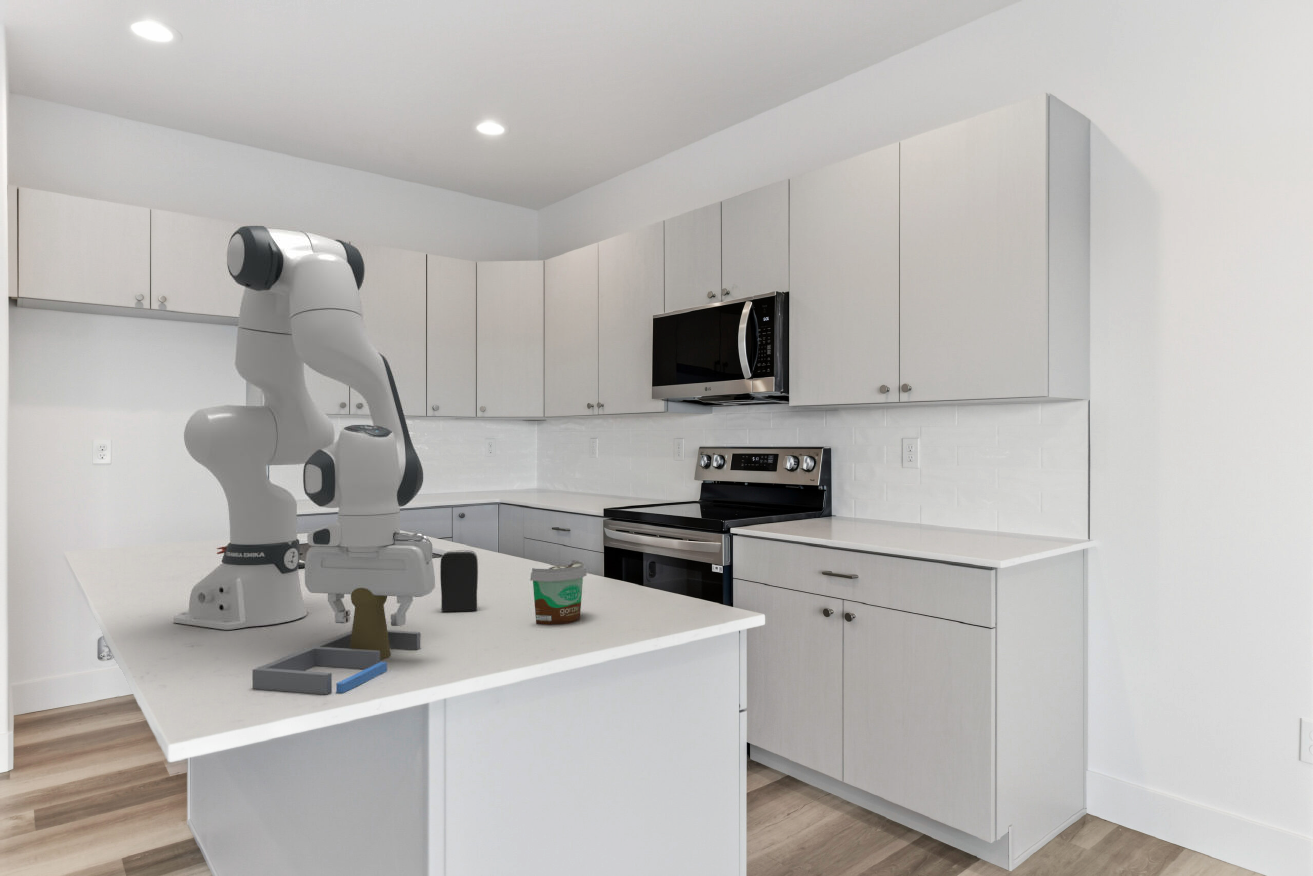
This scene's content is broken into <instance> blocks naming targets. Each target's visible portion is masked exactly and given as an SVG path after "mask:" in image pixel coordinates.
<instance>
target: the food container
mask: <svg viewBox="0 0 1313 876" xmlns="http://www.w3.org/2000/svg"><path fill="white" fill-rule="evenodd" d="M587 575H588V573H587V569H586V566H585V563H584V561H581V560H577V559H571V563H570V564H568V565H564V566H559V565H557V566H551V567H549V568H531V573H530V579H529V580H530V581H532V589H533V600H534V612H535V624H536V625H540V626H560V625H568V624H574V623H575V622H578V621H580V619H581V612H582V611H581V609H582V598H583V597H582V595H583V584H584V583H583V581H584V577H586V576H587Z"/></svg>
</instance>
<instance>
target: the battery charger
mask: <svg viewBox="0 0 1313 876" xmlns="http://www.w3.org/2000/svg"><path fill="white" fill-rule="evenodd" d="M439 566H440V567H439V568H440V571H439V578H440V593H441V594H440V595H441V597H440V598H441V599H440V601H441V603H440V604H441V605H440V607H441V608H440V610H441V612H446V613H447V612H448V613H452V612H453V613H454V612H457V613H459V612H460V613H461V612H471V611H473V612H474V611H477V610H478V608H479V607H478V588H479V586H478V585H479V584H478V583H479V558H478V555H477V553H476V552H475V551H473V550H466V549H464V550H462V549H461V550H449V551H446V552H445V553H443V554H442V556H441V558H440V565H439Z"/></svg>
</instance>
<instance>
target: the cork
mask: <svg viewBox="0 0 1313 876" xmlns="http://www.w3.org/2000/svg"><path fill="white" fill-rule="evenodd" d="M387 599H388V596H378V595H373V593H372V592H371V591H369V590H368V589H366V588H357V589H355V590H354V591H353V592H352V594H350V602H351V604H352V606H354V613H353V619H352V627H351V628H352V629H351V631H352V635H351V642H350V649H362V650H378V651H380V661H382V660H386V659H388V658H390V657H391V655H392V654H391V652H392V651H391V648H390V646H389V639H388V632H387V630H388V626H387V621H386V620H387V618H386V612H385V606H384V605H385V604H386V602H387V601H388V600H387Z"/></svg>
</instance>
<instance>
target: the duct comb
mask: <svg viewBox="0 0 1313 876" xmlns="http://www.w3.org/2000/svg"><path fill="white" fill-rule="evenodd" d="M387 632H388V639H389V646H390V649H399V650H414V651H417V650H420V649H421V631H404V630H388V629H387ZM351 635H352V630H350V631H347V632H344V633H343V634H340V635H338V636H335V637H332V638H330V639H327V640H325V641H321V642H320V643H316V644H314V645H312V646H309V647H307V648H305V649H302V650H301V649H300V651H297V652H294V653H291V654H289V655H287V656H284V657H282V658H279V659H275V660H274V661H271V662H268V663H267V664H263V665H260V666H258V667H256V668H253V669H251V671H252V672H251V673H252V689H253V690H263V691H264V690H267V691H275V692H276V691H278V692H290V693H291V692H292V693H301V694H302V693H303V694H312V695H313V694H315V695H328V694H332V692H333V690H332V689H333V688H332V687H333V686H332V683H333V682H332V680H333V679H332V678H333V677H332V676H333V675H332V672H325V671H323V672H322V671H312V670H311V671H310V670H308V669H311V668H313V667H329V668H339V669H340V668H343V669H353V670H354V669H358V670H361V671H358V672H356V673H355V674H353V675H351V676H349V677H347V678H344V679H342V680H339V681H338V682H336V685H335V686H336V692H335V693H338V694H344V693H346V692H348V691H350V690H352V689H354V688H356V687H357V686H360V685H362V684H364V683H366V682H368V681H369V680H372V679H374V678H375V677H379V675H381V674H383V673H386V672H387V671H388V662H386V661H385V662H384V661H381V660H380V651H378V650H362V649H350V642H351Z"/></svg>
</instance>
